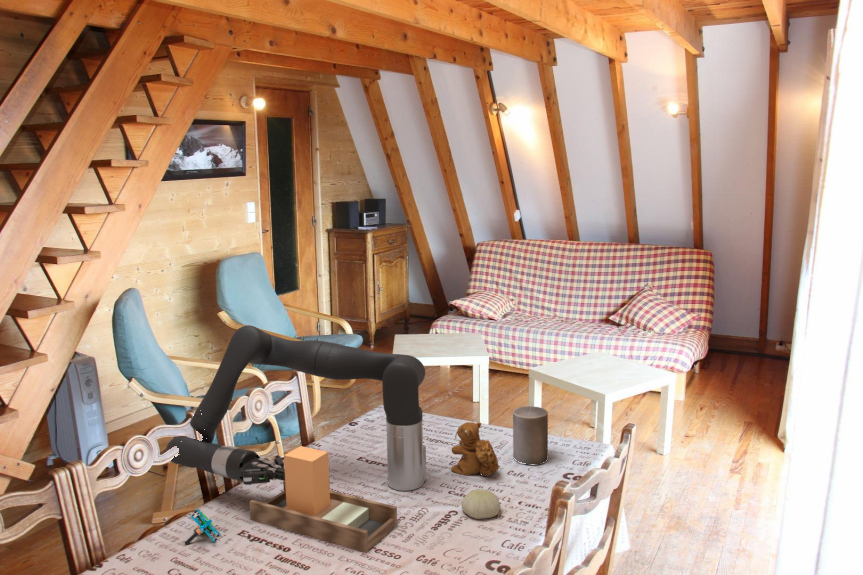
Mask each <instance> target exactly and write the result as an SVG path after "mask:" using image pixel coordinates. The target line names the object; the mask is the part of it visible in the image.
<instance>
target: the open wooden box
mask: <svg viewBox="0 0 863 575" xmlns="http://www.w3.org/2000/svg"><path fill="white" fill-rule="evenodd" d="M282 484H283V490H282V491H281V492H279V493H278V494H276V495H275V496H273V497H271V498H270V499H268V500H267V501H265V502H263V501H258V500H253V499H251V500H250V501H249V514H250V515H249V516H250V518H249V520H251V521H255V522H258V523H261V524H264V525H267V526H271V527H275V528H278V529H281V530H286V531H289V532H292V533H296V534H299V535H303V536H307V537H310V538H314V539H315V540H316V539H317V540H320V541H324V542H328V543H330V544H334V545H337V546H341V547H345V548H348V549H351V550H355V551H358V552H362V553H365V554H366V553H367V552H369V550H371V549H372V548H373V547H374V546H375V545H377V544H378V543H380V541H381V540H383V538H385V537H386V536H387V535H388V534H389V533H390V532H392V531H393V529H395V528H396V527H397V526H398V508H397V507H398V506H395V505H391V504H386V503H383V502H379V501H376V500H375V501H374V500H371V499H367V498H362V497H358V496H354V495H349V494H346V493H342V492H339V491H338V492H337V491H335V490H334V491H333V490H330V505H329V506H328V507H326V508H325V509H324V510H322V511H321V512H319V513H318V514H317V515H315V516H313V515H309V514H305V513H302V512H298V511H294V510H291V509H287V505H286V485H285V481H283V480H282Z"/></svg>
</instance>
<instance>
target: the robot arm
mask: <svg viewBox="0 0 863 575" xmlns="http://www.w3.org/2000/svg"><path fill="white" fill-rule="evenodd" d="M248 364H252V365H260V366H261V365H265V366H276V367H283V368H288V369H291V370H294V371H297V372H300V373H304V374H306V375H312V376H315V377H319V378H323V379H329V380H336V381H337V380H338V381H339V380H341V381H342V380H343V381H344V380H345V381H346V380H347V381H349V380H361V379H363V380H365V379H366V380H369V379H370V380H376V381H380V382H382V383H381V384H382V385H381V388H382V403H383V405H382V406H383V410H384V414H385V417H386V418H385V419H386V420H385V422H386V423H385V424H386V426H385V427H386V456H387V457H386V459H387V461H386V462H387V464H386V465H387V485H388V486H389V488H391V489H393V490H395V491H396V490H397V491H403V492H405V491H406V492H407V491H412V490H413V491H414V490H417V489H419V488H421V487H422V486H423V485H424V482H426V481H427V452H426V451H427V448H426V445H424V433H423V432H424V430H423V429H424V427H423V426H424V424H423V423H424V422H423V420H424V419H423V409H422V407H421V406H420V400H419V399H420V397H419V396H420V395H419V387H420V386H421V384H422V383H423V382H424V380H425V376H426V369H425V366H424V364H423V363H422V362H421V360H419V359H418V358H417V357H416V356H413V355H410V354H402V353H401V354H400V353H390V352H389V353H387V352H378V351H373V350H372V351H371V350H366V349H363V348H359V347H354V346H349V345H344V344H340V343H335V342H330V341H325V340H324V341H323V340H314V339H309V340H306V339H305V340H293V339H287V338H284V337H279V336H276V335H273V334H270V333H268V332H266V331H264V330H262V329H260V328H258V327H256V326H254V325H250V324H249V325H244V326H243V325H242V326H241V327H239V328H238V329H236V330H235V332H233V334H232V337H231V338H230V340H229V343H228V345H227V347H226V350H225V352H224V354H223V356H222V360H221V362H220V364H219V366H218V369H217V371H216V373H215V376H214V377H213V378H212V379H213V380H212V382H211V384H210V386H209V388H208V390H206V391H207V392H206V393H205V394H204V396H203V398H202V400H201V401H200V403H199V404H198V406H197V408H196V410H195V411H194V413H195V414H194V413H193V414H194V416H193V415H192V416H193V418H192V417H191V418H192V420H191V419H190V420H191V422H190V421H189V425H190V427H191V428H192V429H193V430H194V431H198V432H199V433H200V434H202V436H203V438H202V439H203V440H202V441H199V440H196V439H193V438H194V437H188V436H185V435H179V436H175V437H174V438H172V439H171V440H170V441H169V442H168V443H167V445H166V447H165V451H166V450H167V449H168V448H169V447H171V446H172V445H174V446H177V448H179V453H178V454H180V455H178V456H177V457H175V456H174V458H173V459H172V460H171V461H170V462H171V463H173V464H174V465H179V466H183V467H187V468H191V469H194V468H197V469H199V470H202V471H205V472H208V473H211V474H215V475H218V476H220V477H224V478H226V479H230V480H235V481H239V482H243V485H245V486H247V485H258V484H266V483H270V482H271V481H276V480H279V481H282V482H283V481H285V466H284V461H283V458H281V456H280V455H275V456H274V458H273V459H270V458H267V457H260V456H259V454H258V453H257V452H256V451H254V450H250V449H247V448H246V449H245V448H241V447H239V446H238V447H236V446H232V445H231V446H230V445H224V444H218V443H213V441H214V438H215V434H216V431H217V429H218V428H219V426H220V425H221V423H222V421H223V419H224V417H225V416H226V414H227V413H228V410H229V409H230V406H231V403H232V400H233V396H234V392H235V389H236V386H237V383H238V381H239V378H240V377H241V374H242V373H243V371H244V370H245V368H246V367H247V366H248ZM200 410H201V411H200ZM201 413H202V415H201ZM204 429H205V430H204ZM206 438H207V439H206ZM180 440H181V441H182V442H180ZM174 446H172V447H174ZM172 447H171V448H172ZM171 448H170V449H171Z"/></svg>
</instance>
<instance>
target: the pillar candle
mask: <svg viewBox="0 0 863 575" xmlns="http://www.w3.org/2000/svg"><path fill="white" fill-rule="evenodd" d="M548 414H549V413H548V410H546V409H545V408H543V407H540V406H534V405H533V406H531V405H530V406H520V407H517V408H516V407H515V408H514V409H513V410H512V449H513V452H512V453H513V454H512V455H513V456H512V457H514V458H515V459H516V460H517V461H519V462H522V463H526V464H538V465H541V464H540V463H543V462H545V461H546V460H547V456H549V455H548V453H549V452H548V451H549V449H548V448H549V445H548V444H549V443H548V442H549V440H548V439H549V438H548V436H549V435H548V434H549V431H548V429H549V427H548V424H549V418H548V417H549V415H548ZM514 458H513V459H514ZM547 461H548V460H547ZM545 463H546V462H545ZM543 464H544V463H543Z"/></svg>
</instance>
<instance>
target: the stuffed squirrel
mask: <svg viewBox="0 0 863 575" xmlns="http://www.w3.org/2000/svg"><path fill="white" fill-rule="evenodd" d="M481 427H482V423H481V421H479V422H476V423H475V422H464V423H462V424H461V425H459V426H458V428H457V431H456V433H455V436H454V438H457V436H458V438H459V439H460V440H459V441H458V444H459V445H454V446H452V447H451V452H452V454H453V455H461V456H460V459H459V460H458V461H457V464H454V465H453V466H452V467H450V470H451V472H452V473H454V472H455V474H458V473H459V474H458V475H461V474H464V475H463V476H472V475H471V474H473V475H476V474H480V473H481V474H482V475H488V476H489V475H493V474H495V473H496V472H497V471H498V470H499V468H500V465H499V461H498V457H497V454H496V453H495V451H494V447H493V446H492V443H491V441H490V440H488V439H481V438H480V428H481ZM479 472H480V473H479ZM482 475H481V476H482Z"/></svg>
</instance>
